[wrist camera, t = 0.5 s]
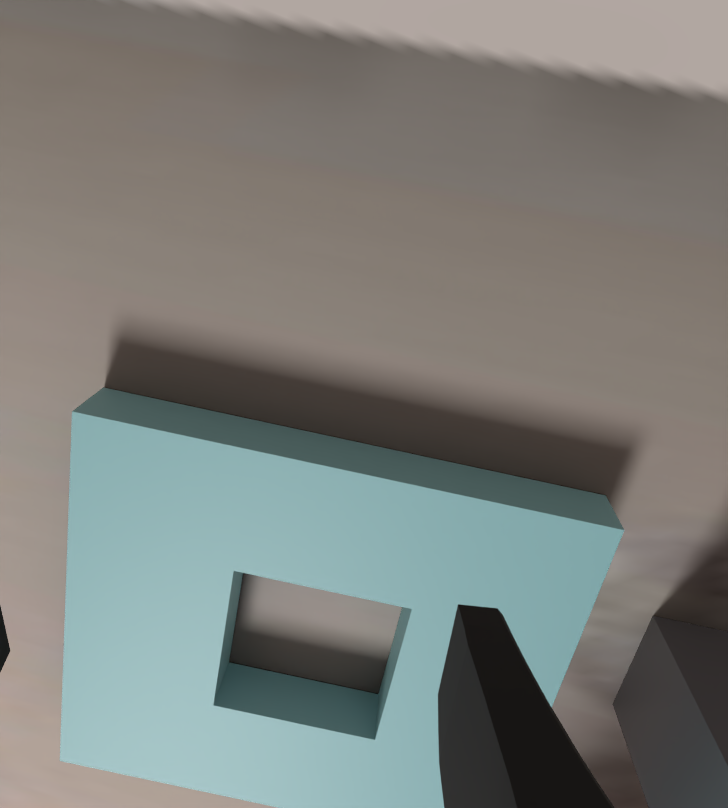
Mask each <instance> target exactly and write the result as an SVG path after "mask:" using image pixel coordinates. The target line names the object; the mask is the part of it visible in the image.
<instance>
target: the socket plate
mask: <svg viewBox="0 0 728 808" xmlns="http://www.w3.org/2000/svg"><path fill="white" fill-rule="evenodd" d="M623 532H624V529H623V527H622V525H621V523H620V521H619V519H618V518H617V516H616V514H615V512H614V510H613V508H612V506H611V505H610V503H609V501H608V499H607V497H606V495H601V494H596V493H592V492H587V491H582V490H578V489H573V488H569V487H564V486H559V485H555V484H550V483H545V482H541V481H536V480H531V479H527V478H522V477H517V476H513V475H508V474H503V473H499V472H494V471H489V470H485V469H480V468H476V467H471V466H466V465H462V464H457V463H452V462H448V461H443V460H438V459H434V458H429V457H424V456H420V455H415V454H410V453H406V452H401V451H397V450H392V449H387V448H383V447H378V446H373V445H369V444H364V443H359V442H355V441H350V440H345V439H341V438H336V437H331V436H327V435H322V434H317V433H313V432H308V431H304V430H299V429H294V428H290V427H285V426H280V425H276V424H271V423H266V422H262V421H257V420H252V419H248V418H243V417H238V416H234V415H229V414H225V413H220V412H215V411H211V410H206V409H201V408H197V407H192V406H187V405H183V404H178V403H173V402H169V401H164V400H159V399H155V398H150V397H145V396H141V395H136V394H132V393H127V392H122V391H118V390H113V389H108V388H104V387H103V388H102V389H101V390H99V391H98V392H97V393H96V394H94V395H93V396H92V397H90V398H89V399H88V400H86V401H85V402H84V403H83V404H81V405H80V406H79V407H77V408H76V409H75V410H73V411H72V429H71V458H70V486H69V515H68V543H67V572H66V600H65V629H64V657H63V686H62V714H61V743H60V761H63V762H67V763H72V764H77V765H81V766H86V767H91V768H96V769H100V770H105V771H110V772H114V773H119V774H124V775H128V776H133V777H138V778H142V779H147V780H152V781H156V782H161V783H166V784H170V785H175V786H180V787H184V788H189V789H194V790H199V791H203V792H208V793H213V794H217V795H222V796H227V797H231V798H236V799H241V800H245V801H250V802H255V803H259V804H264V805H269V806H273V807H278V808H444V801H443V793H442V784H441V775H440V766H439V740H438V691H439V687H440V682H441V678H442V673H443V669H444V664H445V660H446V655H447V651H448V647H449V642H450V638H451V633H452V629H453V624H454V620H455V615H456V611H457V607H458V604H460V605H470V606H480V607H489V608H498V610H499V611H500V612H501V613H502V614H503V616H504V618H505V620H506V622H507V625H508V627H509V629H510V631H511V633H512V635H513V637H514V639H515V641H516V643H517V645H518V647H519V649H520V651H521V653H522V655H523V656H524V658H525V660H526V662H527V664H528V666H529V668H530V670H531V672H532V673H533V675H534V677H535V679H536V681H537V683H538V684H539V686H540V688H541V690H542V692H543V693H544V695H545V697H546V699H547V701H548V702H549V704H550V706H551V708H552V705H553V703H554V700H555V698H556V696H557V693H558V691H559V688H560V686H561V683H562V681H563V678H564V676H565V674H566V671H567V669H568V666H569V664H570V661H571V659H572V657H573V654H574V652H575V649H576V647H577V644H578V642H579V639H580V637H581V635H582V632H583V630H584V627H585V625H586V622H587V620H588V618H589V615H590V613H591V610H592V608H593V605H594V603H595V600H596V598H597V596H598V593H599V591H600V588H601V586H602V583H603V581H604V579H605V576H606V574H607V571H608V569H609V566H610V564H611V561H612V559H613V557H614V554H615V552H616V549H617V547H618V544H619V542H620V540H621V537H622V535H623ZM243 573H246V574H251V575H256V576H260V577H265V578H270V579H274V580H279V581H284V582H288V583H293V584H298V585H302V586H307V587H312V588H316V589H321V590H326V591H330V592H335V593H340V594H344V595H349V596H353V597H358V598H363V599H367V600H372V601H377V602H381V603H386V604H391V605H395V606H400V607H402V610H401V614H400V617H399V621H398V625H397V628H396V632H395V636H394V639H393V643H392V647H391V650H390V654H389V657H388V661H387V665H386V668H385V672H384V676H383V679H382V683H381V687H380V690H379V694H374V693H370V692H365V691H360V690H356V689H351V688H346V687H342V686H337V685H332V684H328V683H323V682H318V681H314V680H309V679H304V678H300V677H295V676H290V675H286V674H281V673H276V672H272V671H267V670H262V669H258V668H253V667H248V666H244V665H239V664H234V663H230V662H229V659H230V653H231V647H232V640H233V634H234V628H235V621H236V615H237V609H238V602H239V596H240V590H241V583H242V577H243Z"/></svg>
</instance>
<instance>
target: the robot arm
mask: <svg viewBox="0 0 728 808" xmlns="http://www.w3.org/2000/svg"><path fill="white" fill-rule="evenodd" d="M9 652H10V648H9V643H8V639H7V634H6V629H5V625H4V620H3V616H2V611H1V607H0V672H1V670H2V667H3V665H4V663H5V661H6V659H7V657H8V654H9ZM438 740H439V766H440V775H441V784H442V793H443V801H444V808H614V807H613V805H612V804H611V802H610V801H609V799H608V797H607V796H606V794H605V793H604V791H603V790H602V788H601V787H600V785H599V784H598V782H597V781H596V779H595V778H594V776H593V775H592V773H591V772H590V770H589V769H588V767H587V765H586V764H585V762H584V761H583V759H582V757H581V756H580V754H579V753H578V751H577V749H576V748H575V746H574V744H573V743H572V741H571V739H570V738H569V736H568V734H567V733H566V731H565V729H564V728H563V726H562V724H561V723H560V721H559V719H558V718H557V716H556V714H555V713H554V711H553V709H552V708H551V706H550V704H549V702H548V701H547V699H546V697H545V695H544V693H543V692H542V690H541V688H540V686H539V684H538V683H537V681H536V679H535V677H534V675H533V673H532V672H531V670H530V668H529V666H528V664H527V662H526V660H525V658H524V656H523V655H522V653H521V651H520V649H519V647H518V645H517V643H516V641H515V639H514V637H513V635H512V633H511V631H510V629H509V627H508V625H507V622H506V620H505V618H504V616H503V614H502V613H501V612H500V611H499V610H498V608H489V607H480V606H470V605H460V604H458V607H457V611H456V615H455V620H454V624H453V629H452V633H451V638H450V642H449V647H448V651H447V655H446V660H445V664H444V669H443V673H442V678H441V682H440V687H439V691H438Z"/></svg>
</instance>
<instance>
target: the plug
mask: <svg viewBox="0 0 728 808" xmlns="http://www.w3.org/2000/svg"><path fill="white" fill-rule="evenodd" d="M613 706H614V709H615V712H616V714H617V717H618V720H619V723H620V726H621V729H622V732H623V735H624V738H625V740H626V743H627V746H628V749H629V752H630V755H631V758H632V761H633V763H634V766H635V769H636V772H637V775H638V778H639V781H640V784H641V787H642V789H643V792H644V795H645V798H646V801H647V804H648V807H649V808H728V632H727V631H722V630H717V629H713V628H708V627H703V626H699V625H694V624H689V623H685V622H680V621H675V620H671V619H666V618H661V617H657V616H653V617H652V619H651V621H650V623H649V626H648V628H647V630H646V632H645V634H644V636H643V639H642V641H641V643H640V645H639V647H638V650H637V652H636V654H635V656H634V658H633V661H632V663H631V665H630V667H629V669H628V672H627V674H626V676H625V678H624V680H623V683H622V685H621V687H620V689H619V691H618V694H617V696H616V698H615V700H614V702H613Z"/></svg>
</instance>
